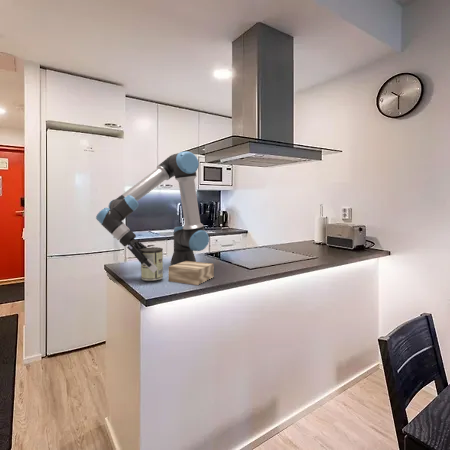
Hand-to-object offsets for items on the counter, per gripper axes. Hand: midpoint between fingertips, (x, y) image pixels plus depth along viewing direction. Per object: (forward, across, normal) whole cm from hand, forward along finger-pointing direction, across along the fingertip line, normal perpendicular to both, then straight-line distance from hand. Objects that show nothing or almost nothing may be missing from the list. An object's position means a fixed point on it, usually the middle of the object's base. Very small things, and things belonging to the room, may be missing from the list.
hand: (158, 268), depth 147 cm
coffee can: (+1, 0, -6) cm, 6 cm away
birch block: (+15, -2, +7) cm, 17 cm away
